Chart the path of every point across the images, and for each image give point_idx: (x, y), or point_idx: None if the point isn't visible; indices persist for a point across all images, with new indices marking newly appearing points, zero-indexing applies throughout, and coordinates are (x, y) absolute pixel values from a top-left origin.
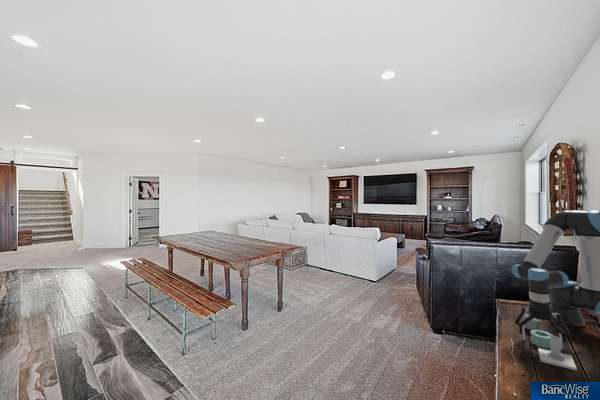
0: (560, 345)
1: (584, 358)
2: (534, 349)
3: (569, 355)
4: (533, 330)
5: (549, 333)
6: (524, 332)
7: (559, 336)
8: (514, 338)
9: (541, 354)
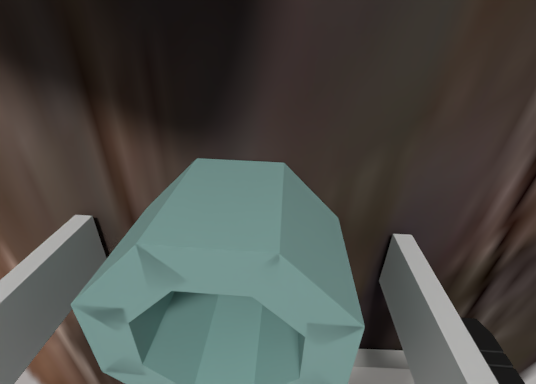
0: (392, 314)
1: (515, 326)
2: None
3: (407, 375)
4: (102, 298)
5: (326, 299)
6: (45, 341)
7: (449, 370)
8: (30, 252)
9: None
